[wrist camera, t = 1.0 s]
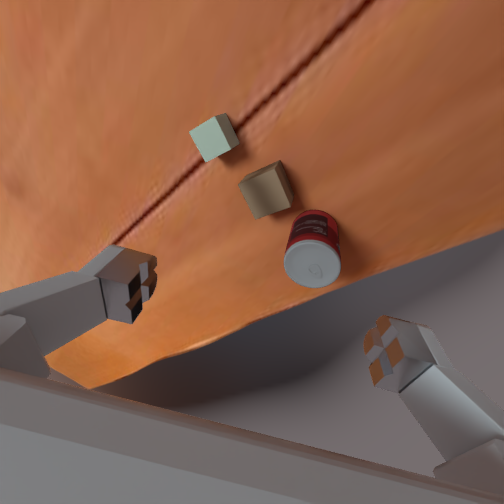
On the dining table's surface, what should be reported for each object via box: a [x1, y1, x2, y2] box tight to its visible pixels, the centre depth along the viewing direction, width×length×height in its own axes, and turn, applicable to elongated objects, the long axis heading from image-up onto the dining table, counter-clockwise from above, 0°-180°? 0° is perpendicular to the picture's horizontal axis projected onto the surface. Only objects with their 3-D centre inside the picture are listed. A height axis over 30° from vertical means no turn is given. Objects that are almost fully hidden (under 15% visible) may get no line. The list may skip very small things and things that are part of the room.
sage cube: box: [189, 113, 240, 162], centre depth 36 cm, size 4×4×4 cm
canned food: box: [284, 210, 341, 288], centre depth 38 cm, size 8×8×11 cm
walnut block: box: [238, 160, 294, 219], centre depth 38 cm, size 6×6×5 cm
